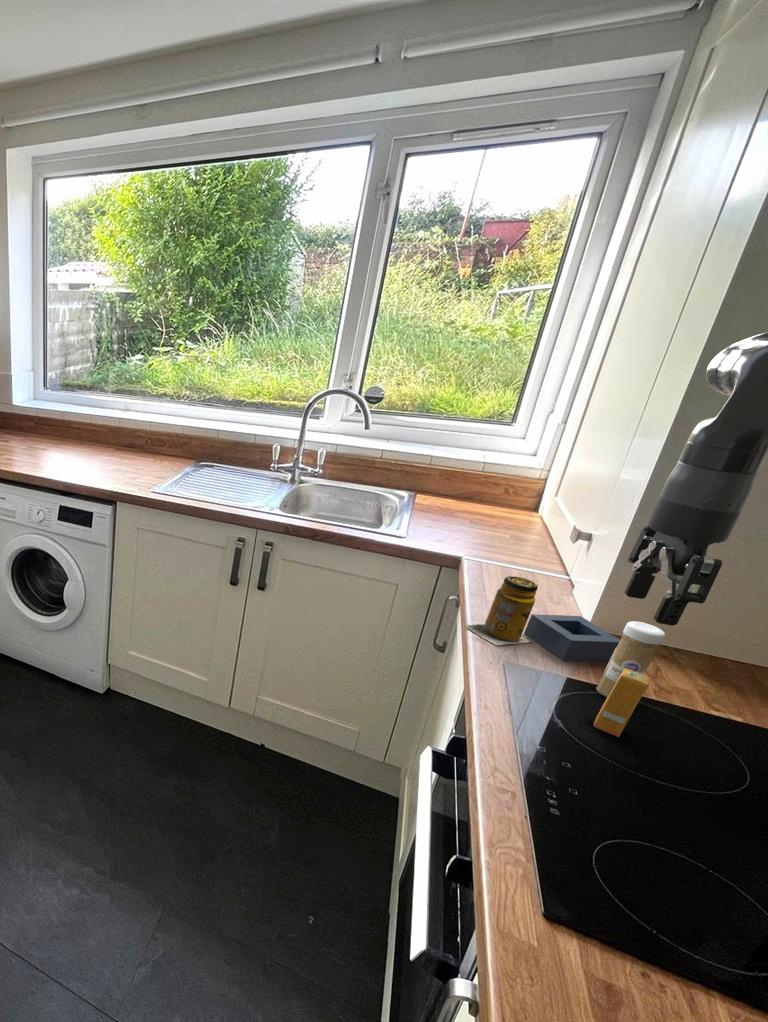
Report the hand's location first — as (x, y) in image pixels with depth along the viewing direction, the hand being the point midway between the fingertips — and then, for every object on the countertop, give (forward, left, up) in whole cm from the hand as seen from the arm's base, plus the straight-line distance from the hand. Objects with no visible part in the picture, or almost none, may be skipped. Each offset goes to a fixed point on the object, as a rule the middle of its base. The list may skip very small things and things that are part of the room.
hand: (648, 609), depth 82 cm
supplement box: (+1, -4, -22) cm, 22 cm away
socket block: (+25, -17, -22) cm, 37 cm away
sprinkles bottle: (+10, -13, -22) cm, 27 cm away
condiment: (+29, -6, -22) cm, 37 cm away
